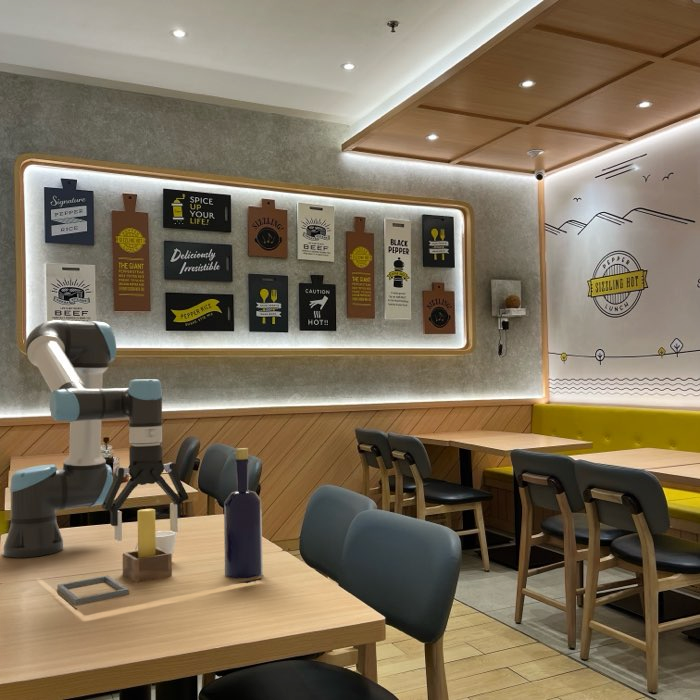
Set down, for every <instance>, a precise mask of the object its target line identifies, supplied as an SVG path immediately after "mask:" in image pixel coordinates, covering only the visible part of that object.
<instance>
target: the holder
mask: <svg viewBox="0 0 700 700" xmlns="http://www.w3.org/2000/svg"><path fill="white" fill-rule="evenodd" d="M172 558H173V556H172V554H171V553H169V552H167V551H165V550H163V549H160V548H158V547H156V556H150V557H145V558H139V559H138V550H136V551H135V550H134V551H128V552H122V576H123V577H126V578H127V579H129V580H130V581H132V582H133V583H140V582H146V581H150V580H157V579H162V578H166V577H171V576H173V573H172V572H173V568H172V566H173V565H172V564H173V563H172V560H173V559H172Z"/></svg>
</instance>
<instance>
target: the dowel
mask: <svg viewBox="0 0 700 700" xmlns="http://www.w3.org/2000/svg"><path fill="white" fill-rule="evenodd" d="M155 532H156V509H154V508H145V509H139V510H137V543H138V546H137V551H138V559H139V558H145V557H150V556H156V535H155Z"/></svg>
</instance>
